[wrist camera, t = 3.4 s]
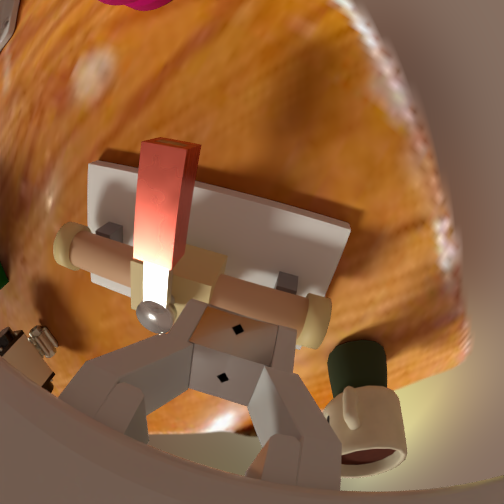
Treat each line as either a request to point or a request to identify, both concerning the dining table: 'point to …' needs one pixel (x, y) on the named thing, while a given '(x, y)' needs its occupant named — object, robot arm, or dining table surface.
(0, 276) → the milk carton
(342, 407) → the character mug
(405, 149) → the dining table surface
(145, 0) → the pepper mill
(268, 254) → the board
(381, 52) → the dining table surface
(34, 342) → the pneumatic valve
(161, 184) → the lever
